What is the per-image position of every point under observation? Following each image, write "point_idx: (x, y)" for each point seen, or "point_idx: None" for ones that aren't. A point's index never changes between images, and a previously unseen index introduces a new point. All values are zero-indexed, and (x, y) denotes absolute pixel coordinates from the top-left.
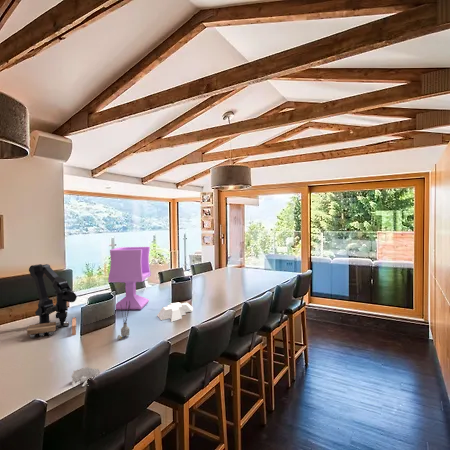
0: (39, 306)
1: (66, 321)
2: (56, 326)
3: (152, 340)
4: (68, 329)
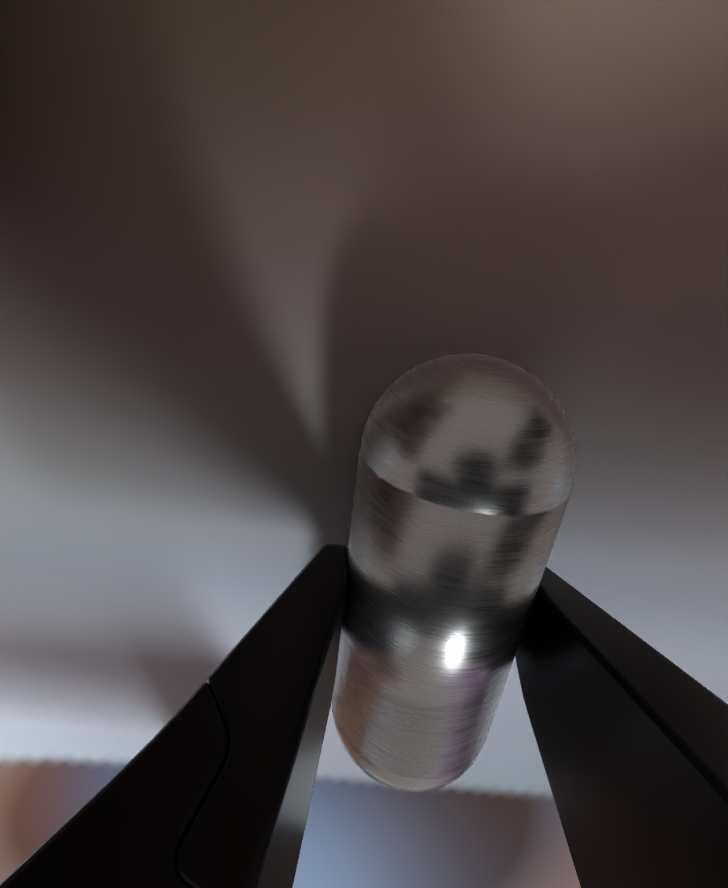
0: None
1: (424, 776)
2: (385, 395)
3: None
4: (75, 640)
